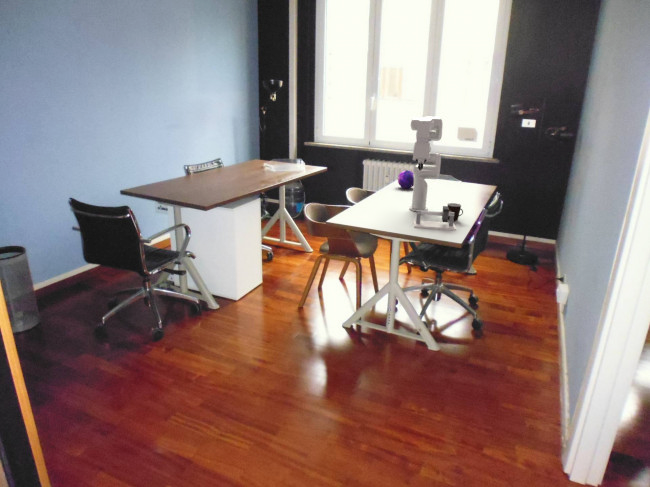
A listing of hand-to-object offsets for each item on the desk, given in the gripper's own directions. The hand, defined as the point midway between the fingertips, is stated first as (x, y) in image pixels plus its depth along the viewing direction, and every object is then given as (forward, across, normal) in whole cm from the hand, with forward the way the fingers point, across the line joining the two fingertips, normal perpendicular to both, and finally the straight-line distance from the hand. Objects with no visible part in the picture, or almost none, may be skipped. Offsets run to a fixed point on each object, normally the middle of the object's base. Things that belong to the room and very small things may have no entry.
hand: (420, 169), depth 301 cm
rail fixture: (+32, -11, +14) cm, 37 cm away
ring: (+28, -17, +14) cm, 36 cm away
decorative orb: (+32, +7, -93) cm, 99 cm away
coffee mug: (+32, -24, -2) cm, 40 cm away
